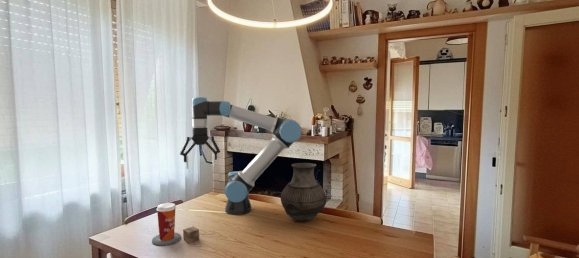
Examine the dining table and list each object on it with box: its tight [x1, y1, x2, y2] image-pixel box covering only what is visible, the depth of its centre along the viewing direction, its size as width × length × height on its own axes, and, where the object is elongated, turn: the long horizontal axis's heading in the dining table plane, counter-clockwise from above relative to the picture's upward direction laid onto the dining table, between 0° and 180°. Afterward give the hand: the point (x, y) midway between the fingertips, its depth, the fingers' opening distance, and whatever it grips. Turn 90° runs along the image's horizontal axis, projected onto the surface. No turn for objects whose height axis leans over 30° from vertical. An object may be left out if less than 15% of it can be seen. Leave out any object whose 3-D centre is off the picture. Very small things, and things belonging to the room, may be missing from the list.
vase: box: [280, 162, 327, 222], centre depth 156 cm, size 25×25×30 cm
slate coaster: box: [151, 231, 182, 247], centre depth 131 cm, size 12×12×1 cm
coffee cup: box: [155, 202, 177, 241], centre depth 131 cm, size 8×8×15 cm
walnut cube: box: [182, 226, 200, 244], centre depth 131 cm, size 5×5×5 cm
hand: (200, 167), depth 153 cm, fingers open, 13 cm apart
